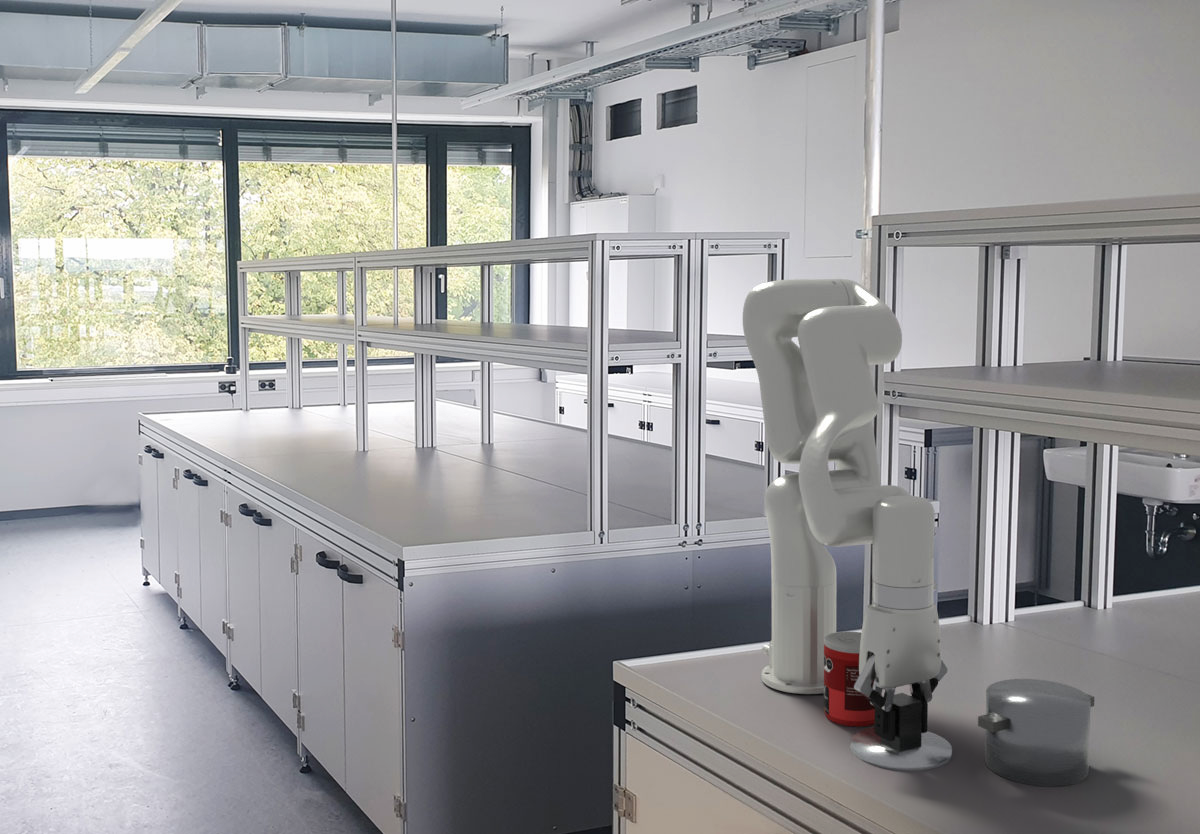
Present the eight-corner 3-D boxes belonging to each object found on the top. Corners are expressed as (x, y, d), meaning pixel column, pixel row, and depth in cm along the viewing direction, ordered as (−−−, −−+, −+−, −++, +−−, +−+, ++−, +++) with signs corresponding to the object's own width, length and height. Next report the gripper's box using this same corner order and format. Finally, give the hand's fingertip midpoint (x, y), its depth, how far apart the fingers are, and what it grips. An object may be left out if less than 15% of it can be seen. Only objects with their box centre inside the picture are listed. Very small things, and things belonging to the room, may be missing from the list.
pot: (948, 762, 148) (949, 693, 147) (1047, 735, 156) (1049, 669, 155) (1022, 799, 137) (1024, 724, 136) (1125, 768, 145) (1127, 697, 144)
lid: (830, 744, 155) (830, 693, 154) (904, 726, 161) (905, 676, 160) (896, 780, 144) (896, 725, 143) (973, 759, 149) (974, 705, 149)
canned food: (839, 702, 169) (840, 627, 168) (891, 715, 164) (892, 638, 163) (813, 718, 163) (813, 641, 162) (866, 732, 158) (866, 652, 157)
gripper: (932, 579, 157) (930, 712, 159) (830, 597, 149) (829, 736, 151) (974, 592, 150) (971, 730, 152) (869, 611, 142) (868, 757, 145)
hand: (900, 732), depth 152 cm, fingers open, 4 cm apart
